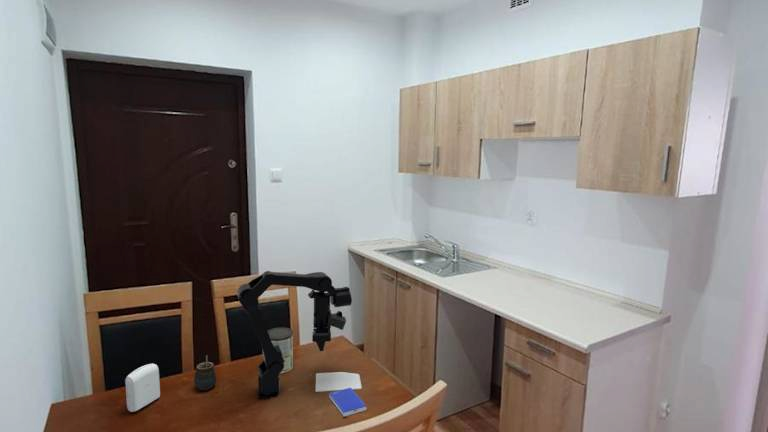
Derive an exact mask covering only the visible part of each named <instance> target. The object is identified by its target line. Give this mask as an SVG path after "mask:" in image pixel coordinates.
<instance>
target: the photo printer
mask: <svg viewBox="0 0 768 432" xmlns="http://www.w3.org/2000/svg"><path fill="white" fill-rule="evenodd" d="M124 383H125V395H126V398H125V399H126V408H127V410H128V411H129V412H131V413H134V412H137V411H139V410H141V409H142V408H144V407H146V406H147V405H149V404H151V403H152V402H155V400H158V398H160V396H161V384H160V369H159V366H158V365H157V364H155V363H149V364H148V363H147V364H145V365H142V366H140V367H138V368H136V369H134V370H133V371H132V372H130V373H129V374H128V375H127V376H126V378H125V379H124Z"/></svg>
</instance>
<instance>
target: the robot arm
mask: <svg viewBox="0 0 768 432" xmlns="http://www.w3.org/2000/svg"><path fill="white" fill-rule="evenodd" d="M271 286H283V287H286V286H287V287H300V288H307V289H310V290H311V291H310V292H309V293H308V294H307V296H308V297H309V298H310V299H313V322H312V323H313V331H312V338H311V339H312V342H313V343H316V345H317V347H318V350H319V351H320V352H324V349H325V345H326V342H331V341H332V331H331V328H332V327H333V328H336V329H339V330H342V331H343V330H344V328H345V325H346V323H347V319H346V316H343V312H342V311H340V310H338V311H337V312H335V313H332V309H331V305H332V306H333V307H334V308H341V307H350V306H351V305H352V303H353V299H352V295H351V290H350V287H349V286H343V287H338V288H337V287H334V286H333V281H332V279H331V277H330V276H328V275H327V274H326V273H325V272H322V271H317V272H311V273H309V272H308V273H307V274H305V273H304V274H303V273H302V274H301V273H290V272H276V271H270V270H266V271H264V272H263V273H261V274H260V275H259V276H257V277H255V278H254V279H252V280H250V281H249V282H247V283H244V284H242V285H240V286H239V287H238V289H237V291H236V292H237V293H236V294H237V297H238V302H239V303H240V304H241V306H242V308H243V310H244V311H245V312H246V314H248V316H249V319H250V321H251V324H252V327H253V329H254V331H255V335H256V337H257V338H258V341H259V344H260V347H261V350H262V356H263V360H262V361H261V363H260V364H258V366H257V369H258V373H259V374H258V378H257V384H258V386H257V388H258V389H257V392H258V394H257V397H256V398H257V399H271V398H277V397H278V394H279V393H280V390H281V378H280V377H279V376H280V374H282V373H281V371H282V370H283V368H284V363H283V362H285V360H284V357H283V355H282V352H281V350H280V347H279V345H277V346H274V345H273V344H272V342H271V339H270V336H269V334H268V328H267V327H266V325H265V324H266V323H265V321H264V319H263V316H262V314H261V311H260V304H259V297H261V296H262V295H263V294H264V293H265V291H266V290H268V289H269V287H271Z"/></svg>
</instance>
